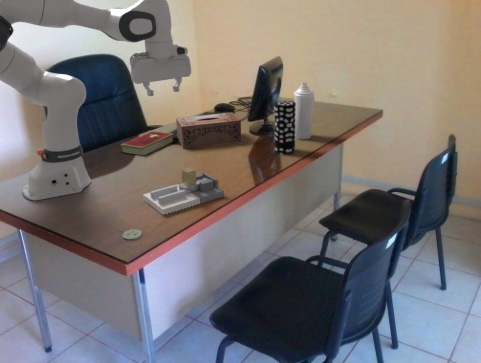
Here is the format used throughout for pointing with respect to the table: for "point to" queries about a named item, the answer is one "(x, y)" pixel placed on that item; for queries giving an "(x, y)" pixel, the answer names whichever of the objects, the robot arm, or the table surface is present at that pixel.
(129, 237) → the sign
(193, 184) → the bolt
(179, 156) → the table surface
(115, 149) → the table surface
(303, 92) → the spray can
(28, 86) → the robot arm
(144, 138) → the hardcover book
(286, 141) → the white-spotted black cylinder
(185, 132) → the tissue box cover
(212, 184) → the plate
